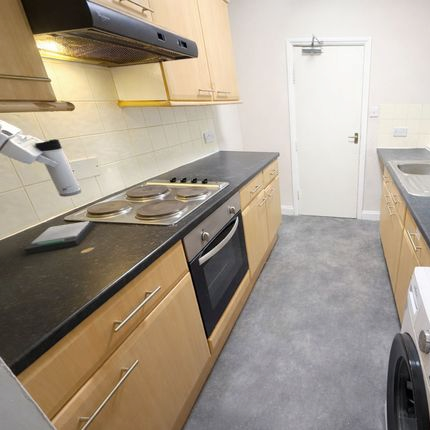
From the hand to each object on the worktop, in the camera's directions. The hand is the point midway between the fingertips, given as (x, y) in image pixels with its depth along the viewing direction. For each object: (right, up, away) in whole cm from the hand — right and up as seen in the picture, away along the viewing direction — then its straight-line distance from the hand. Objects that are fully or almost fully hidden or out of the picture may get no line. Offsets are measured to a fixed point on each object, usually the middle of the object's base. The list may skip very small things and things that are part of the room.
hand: (59, 162), depth 95 cm
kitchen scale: (-1, -28, +3) cm, 28 cm away
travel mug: (0, -11, +5) cm, 12 cm away
